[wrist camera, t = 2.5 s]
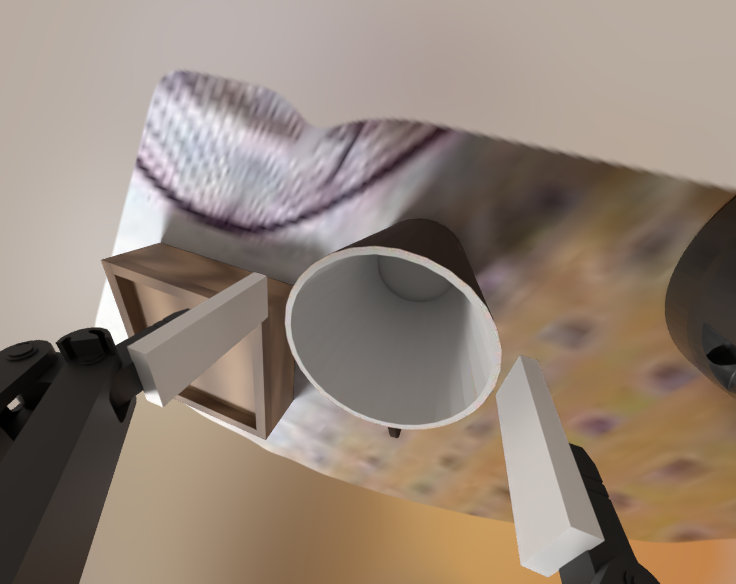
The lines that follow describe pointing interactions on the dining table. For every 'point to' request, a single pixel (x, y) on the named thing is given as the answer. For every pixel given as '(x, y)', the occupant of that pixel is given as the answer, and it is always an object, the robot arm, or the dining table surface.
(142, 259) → the wooden tray
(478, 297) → the coffee mug
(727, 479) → the dining table surface
